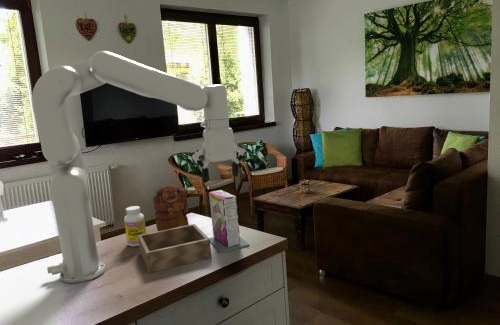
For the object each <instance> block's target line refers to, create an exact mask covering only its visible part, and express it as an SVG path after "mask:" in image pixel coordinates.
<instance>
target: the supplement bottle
mask: <svg viewBox="0 0 500 325" xmlns="http://www.w3.org/2000/svg"><path fill="white" fill-rule="evenodd" d="M125 213H126V215H125V216H124V229H125V236H126V244H127V245H128V246H130V247H139V240H138V235H143V234H147V230H146V222H145V215H144V214H143V213H141V207H140V206H139V205H134V206H133V205H132V206H128V207H126V208H125Z"/></svg>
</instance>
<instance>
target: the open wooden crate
mask: <svg viewBox="0 0 500 325" xmlns="http://www.w3.org/2000/svg"><path fill="white" fill-rule="evenodd" d="M209 238H210V237H208V236H207V234H206V233H204V232H203V230H202V229H200V228H199V226H197V225H196V224H195V223H192V224H189V225H186V226H182V227H177V228H172V229H167V230H162V231H158V230H157V231H153V232H148V233H146V234H143V235H138V240H139V246H138V247H139V254H140V256H141V258H142V261H143V262H144V264H145V267H146V269H147V272H148V273H149V274H150V273H155V272H159V271H162V270H165V269H171V268H174V267H179V266H183V265H187V264H191V263H195V262H199V261H203V260H204V261H205V260H207V259H212V247H211V245H212V244H211V243H210V239H209Z"/></svg>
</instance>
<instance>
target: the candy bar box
mask: <svg viewBox="0 0 500 325" xmlns="http://www.w3.org/2000/svg"><path fill="white" fill-rule="evenodd" d="M208 198H209V205H210V214H211V222H212V223H211V226H212V233H213V234H212V235H213V237H214V238H215V239H216V240H218V241H219V242H221V243H222V244H224V245H225V246H226V247H228V248H229V247H233V246H236V245H239V244H240V237H241V235H240V225H239V224H240V223H239V215H238V214H239V213H238V204H237V202H238V201H237V196H236V195H234V194H231V193H229V192H227V191H225V190H222V189H219V190H213V191H210V192H208Z"/></svg>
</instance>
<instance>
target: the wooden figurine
mask: <svg viewBox="0 0 500 325" xmlns="http://www.w3.org/2000/svg"><path fill="white" fill-rule="evenodd" d="M152 199H153V209H154V210H155V213H154V218H155V225H156V228H157V229H156V230H157V231H162V230H167V229H172V228H177V227H182V226H186V225H190V224H189V220H188V219H189V218H188V216H187V215H188V214H189V204H188V197H187V192H186V191H185V190H183V189H181V188H180V187H178V186H177V185H175V184H174V183H168V184H163V185H162V186H160V187H159V188H158V189H157V191H156V194H155V195H154V196H153V197H152Z"/></svg>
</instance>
